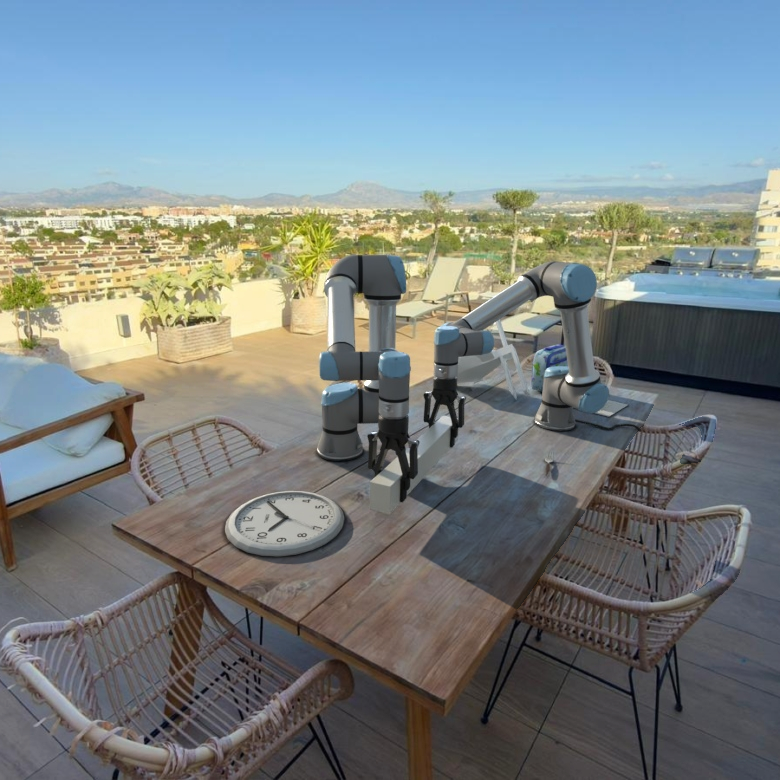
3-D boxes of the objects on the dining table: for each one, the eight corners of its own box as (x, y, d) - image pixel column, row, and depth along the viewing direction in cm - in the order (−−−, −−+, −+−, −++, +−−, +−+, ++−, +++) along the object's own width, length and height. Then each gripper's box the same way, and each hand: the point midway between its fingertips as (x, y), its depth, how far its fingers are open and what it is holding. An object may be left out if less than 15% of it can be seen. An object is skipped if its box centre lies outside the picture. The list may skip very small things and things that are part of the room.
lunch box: (547, 397, 237) (552, 352, 231) (526, 391, 245) (531, 348, 238) (574, 386, 255) (580, 344, 249) (554, 381, 262) (559, 340, 256)
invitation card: (608, 416, 214) (573, 407, 224) (608, 416, 214) (573, 408, 224) (628, 404, 229) (594, 396, 238) (628, 405, 229) (594, 397, 238)
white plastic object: (461, 429, 252) (437, 405, 227) (444, 352, 274) (420, 323, 250) (535, 404, 240) (518, 377, 215) (510, 326, 262) (492, 293, 237)
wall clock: (344, 547, 121) (211, 552, 118) (344, 554, 121) (212, 558, 119) (344, 486, 149) (237, 489, 147) (344, 491, 150) (237, 494, 147)
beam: (442, 436, 178) (443, 415, 176) (458, 439, 176) (459, 418, 174) (369, 509, 132) (369, 481, 130) (389, 514, 130) (390, 486, 127)
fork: (541, 476, 161) (542, 470, 161) (545, 456, 176) (546, 450, 175) (550, 477, 161) (551, 471, 160) (553, 457, 175) (554, 451, 174)
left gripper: (353, 413, 130) (353, 495, 137) (423, 426, 123) (419, 512, 130) (366, 403, 136) (366, 482, 144) (434, 415, 129) (430, 498, 136)
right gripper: (413, 375, 164) (412, 443, 171) (470, 383, 157) (467, 453, 164) (421, 369, 171) (420, 435, 178) (477, 376, 163) (473, 445, 170)
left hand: (391, 496), depth 137 cm, fingers closed on beam, 6 cm apart
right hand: (442, 444), depth 171 cm, fingers closed on beam, 6 cm apart
